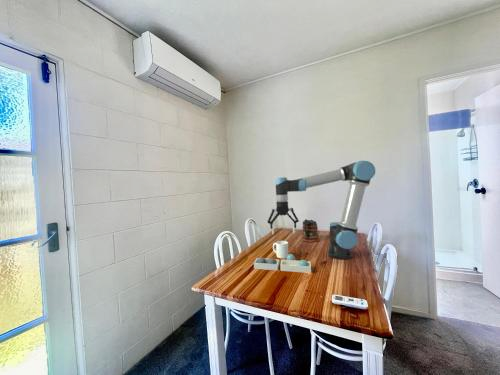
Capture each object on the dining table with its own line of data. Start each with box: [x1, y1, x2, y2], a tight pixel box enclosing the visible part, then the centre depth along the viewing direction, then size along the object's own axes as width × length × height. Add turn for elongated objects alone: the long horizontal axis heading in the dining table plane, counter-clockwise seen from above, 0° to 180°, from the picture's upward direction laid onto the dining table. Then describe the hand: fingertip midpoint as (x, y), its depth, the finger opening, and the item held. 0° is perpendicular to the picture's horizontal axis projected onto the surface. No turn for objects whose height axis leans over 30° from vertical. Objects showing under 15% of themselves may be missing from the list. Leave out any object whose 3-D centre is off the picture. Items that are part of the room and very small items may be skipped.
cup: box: [272, 240, 289, 259], centre depth 143 cm, size 8×12×10 cm
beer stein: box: [301, 218, 320, 243], centre depth 177 cm, size 19×15×20 cm
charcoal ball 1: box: [257, 256, 266, 263], centre depth 126 cm, size 6×6×6 cm
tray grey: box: [253, 257, 280, 271], centre depth 125 cm, size 14×8×4 cm, turn 75°
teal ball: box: [285, 253, 296, 260], centre depth 131 cm, size 6×6×6 cm
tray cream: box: [279, 259, 312, 274], centre depth 121 cm, size 17×8×4 cm, turn 75°
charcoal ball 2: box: [267, 257, 276, 264], centre depth 125 cm, size 6×6×6 cm
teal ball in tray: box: [299, 259, 308, 266], centre depth 120 cm, size 6×6×6 cm
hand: (283, 233), depth 133 cm, fingers open, 13 cm apart
